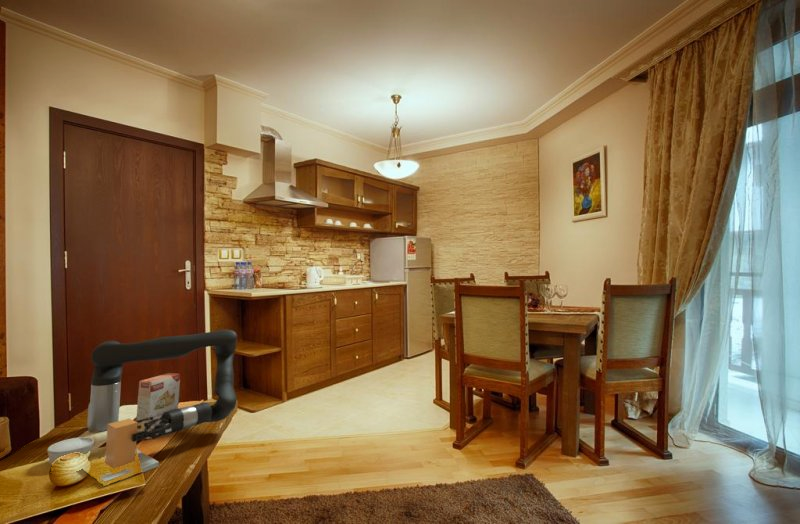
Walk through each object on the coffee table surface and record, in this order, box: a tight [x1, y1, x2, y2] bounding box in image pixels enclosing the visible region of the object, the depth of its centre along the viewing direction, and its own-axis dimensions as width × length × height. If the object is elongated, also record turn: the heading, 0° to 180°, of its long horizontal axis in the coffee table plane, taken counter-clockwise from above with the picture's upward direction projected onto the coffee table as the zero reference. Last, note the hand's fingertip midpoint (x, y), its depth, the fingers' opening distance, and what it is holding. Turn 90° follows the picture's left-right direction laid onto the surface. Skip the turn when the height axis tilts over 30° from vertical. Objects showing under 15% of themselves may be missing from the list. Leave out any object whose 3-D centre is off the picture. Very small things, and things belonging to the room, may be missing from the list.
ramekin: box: [46, 436, 95, 465], centre depth 119 cm, size 11×11×5 cm
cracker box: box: [135, 372, 181, 440], centre depth 143 cm, size 14×6×21 cm, turn 168°
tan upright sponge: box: [105, 418, 138, 469], centre depth 116 cm, size 6×6×12 cm
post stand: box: [100, 448, 160, 482], centre depth 115 cm, size 18×14×8 cm
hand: (126, 434), depth 117 cm, fingers open, 8 cm apart
